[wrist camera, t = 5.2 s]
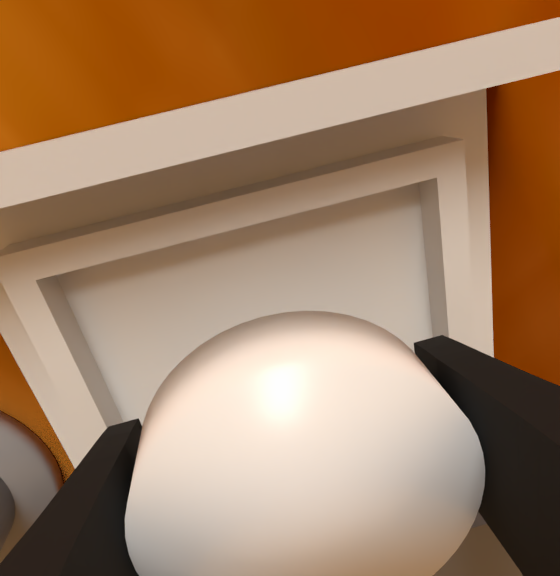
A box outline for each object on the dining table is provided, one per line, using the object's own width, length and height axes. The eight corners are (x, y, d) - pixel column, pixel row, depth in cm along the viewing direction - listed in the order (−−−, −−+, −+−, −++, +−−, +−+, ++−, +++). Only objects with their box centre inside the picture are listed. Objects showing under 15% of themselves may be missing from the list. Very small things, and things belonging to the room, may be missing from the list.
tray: (500, 31, 9) (630, 0, 7) (506, 430, 14) (585, 518, 11) (-105, 177, 9) (-259, 215, 6) (103, 545, 13) (74, 670, 10)
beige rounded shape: (425, 272, 7) (478, 315, 6) (447, 507, 10) (489, 580, 8) (89, 362, 7) (59, 430, 6) (193, 582, 9) (190, 671, 8)
